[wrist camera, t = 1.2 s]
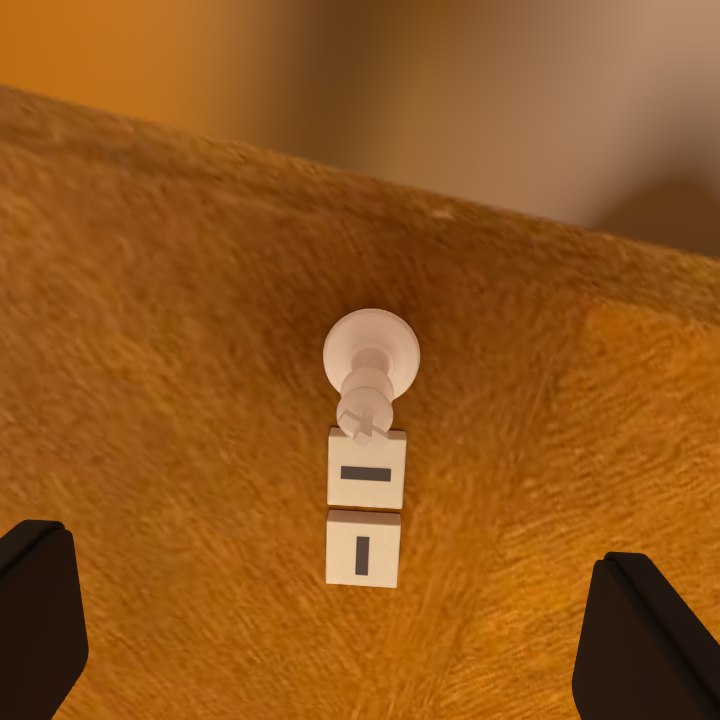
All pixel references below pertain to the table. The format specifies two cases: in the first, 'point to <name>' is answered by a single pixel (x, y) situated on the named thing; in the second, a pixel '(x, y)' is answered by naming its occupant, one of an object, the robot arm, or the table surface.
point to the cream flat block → (364, 529)
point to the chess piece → (370, 371)
